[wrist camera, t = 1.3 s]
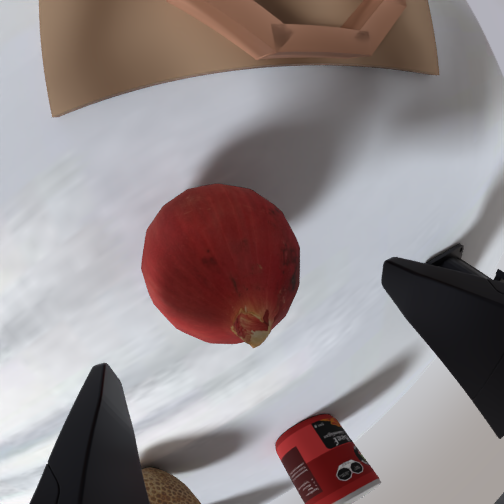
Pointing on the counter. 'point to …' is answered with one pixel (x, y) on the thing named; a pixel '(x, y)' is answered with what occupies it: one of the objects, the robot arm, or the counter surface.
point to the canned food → (325, 462)
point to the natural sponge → (166, 488)
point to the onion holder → (219, 41)
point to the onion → (221, 264)
